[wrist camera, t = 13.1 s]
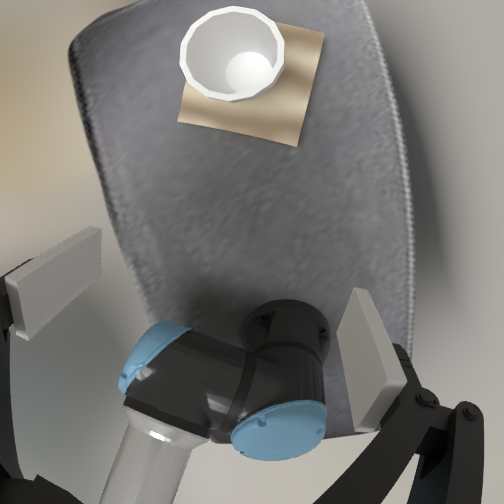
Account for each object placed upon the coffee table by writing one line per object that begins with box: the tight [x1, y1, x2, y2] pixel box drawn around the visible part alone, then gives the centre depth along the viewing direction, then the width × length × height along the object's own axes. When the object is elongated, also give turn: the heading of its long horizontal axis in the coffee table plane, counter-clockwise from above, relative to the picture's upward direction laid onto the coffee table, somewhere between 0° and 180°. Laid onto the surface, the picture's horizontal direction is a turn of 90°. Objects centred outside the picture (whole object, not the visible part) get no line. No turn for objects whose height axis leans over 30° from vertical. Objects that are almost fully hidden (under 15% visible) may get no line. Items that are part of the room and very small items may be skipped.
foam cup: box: [180, 6, 285, 103], centre depth 30 cm, size 10×9×13 cm
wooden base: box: [177, 13, 325, 147], centre depth 37 cm, size 16×16×4 cm
